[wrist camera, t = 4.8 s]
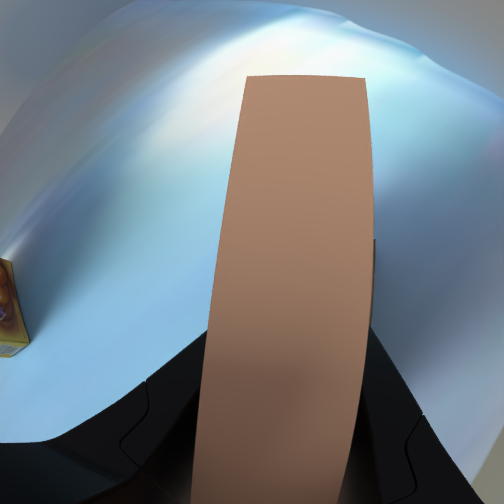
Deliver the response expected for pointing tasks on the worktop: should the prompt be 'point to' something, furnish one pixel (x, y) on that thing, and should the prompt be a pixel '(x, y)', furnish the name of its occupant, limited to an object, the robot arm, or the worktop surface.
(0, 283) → the candy box
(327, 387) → the tan wooden block
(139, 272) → the worktop surface
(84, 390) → the worktop surface
